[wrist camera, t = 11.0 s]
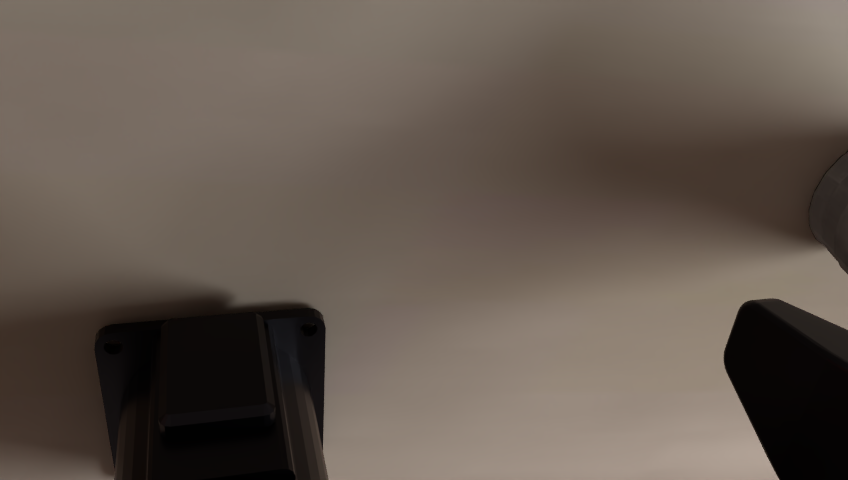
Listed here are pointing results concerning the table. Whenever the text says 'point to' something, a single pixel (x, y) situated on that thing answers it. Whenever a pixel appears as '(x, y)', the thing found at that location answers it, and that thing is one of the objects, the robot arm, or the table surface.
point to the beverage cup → (832, 211)
